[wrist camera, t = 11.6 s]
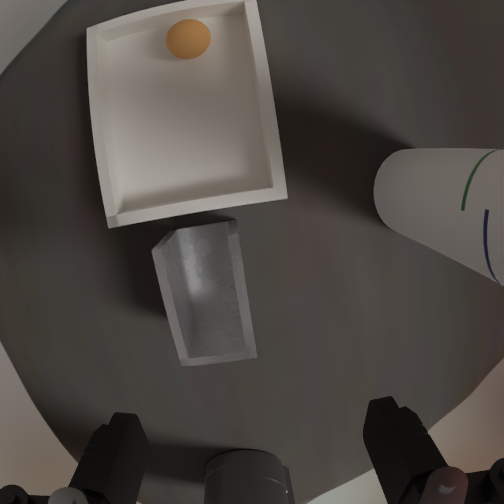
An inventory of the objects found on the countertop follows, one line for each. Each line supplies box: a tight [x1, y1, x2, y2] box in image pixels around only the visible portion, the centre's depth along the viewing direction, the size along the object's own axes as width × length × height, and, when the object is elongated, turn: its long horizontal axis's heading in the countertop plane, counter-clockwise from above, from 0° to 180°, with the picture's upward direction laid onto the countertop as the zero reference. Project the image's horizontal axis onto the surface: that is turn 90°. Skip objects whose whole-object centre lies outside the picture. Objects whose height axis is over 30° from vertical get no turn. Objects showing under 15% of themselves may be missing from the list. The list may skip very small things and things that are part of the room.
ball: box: [166, 19, 211, 59], centre depth 17 cm, size 3×3×3 cm
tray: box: [87, 0, 288, 228], centre depth 19 cm, size 15×12×3 cm
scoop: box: [152, 219, 257, 367], centre depth 21 cm, size 8×5×6 cm, turn 8°
